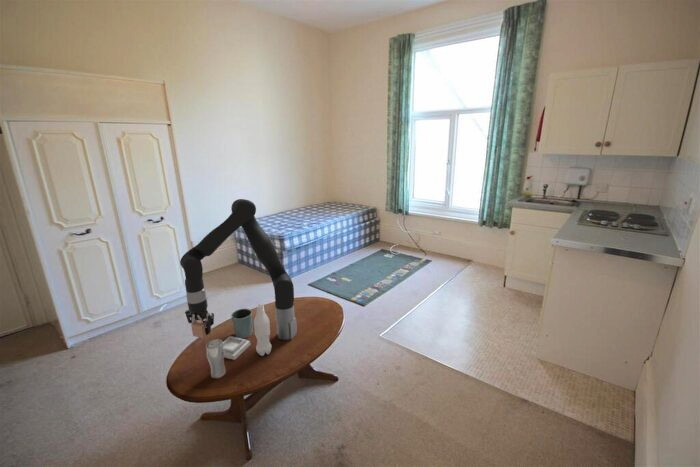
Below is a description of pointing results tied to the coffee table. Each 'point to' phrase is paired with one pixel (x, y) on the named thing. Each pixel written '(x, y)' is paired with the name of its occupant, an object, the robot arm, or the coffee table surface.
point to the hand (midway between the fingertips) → (202, 332)
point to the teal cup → (242, 323)
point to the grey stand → (234, 347)
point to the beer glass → (216, 357)
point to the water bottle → (262, 331)
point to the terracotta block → (199, 329)
